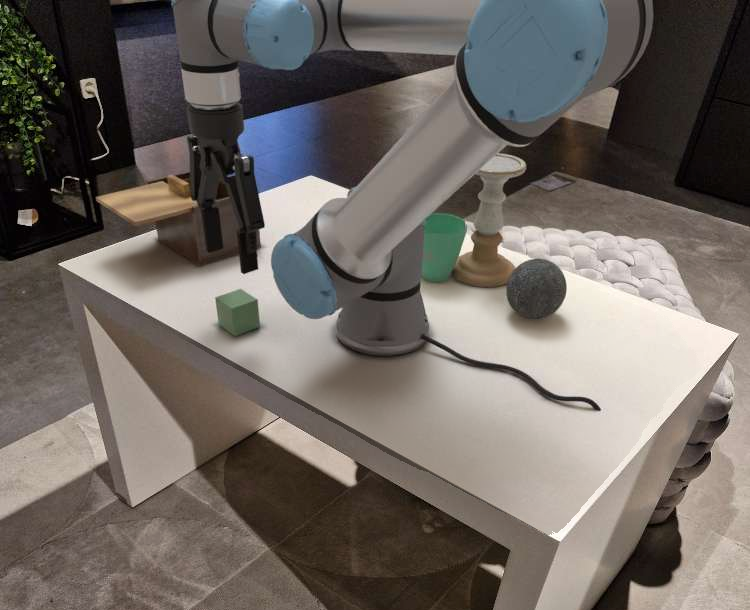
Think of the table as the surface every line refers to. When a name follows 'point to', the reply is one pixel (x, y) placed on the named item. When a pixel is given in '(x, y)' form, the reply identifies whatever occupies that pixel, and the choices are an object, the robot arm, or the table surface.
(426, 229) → the mug
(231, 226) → the walnut box
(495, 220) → the candle holder
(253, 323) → the block
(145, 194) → the sliding lid
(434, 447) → the table surface
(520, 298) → the decorative ball
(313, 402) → the table surface
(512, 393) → the table surface
